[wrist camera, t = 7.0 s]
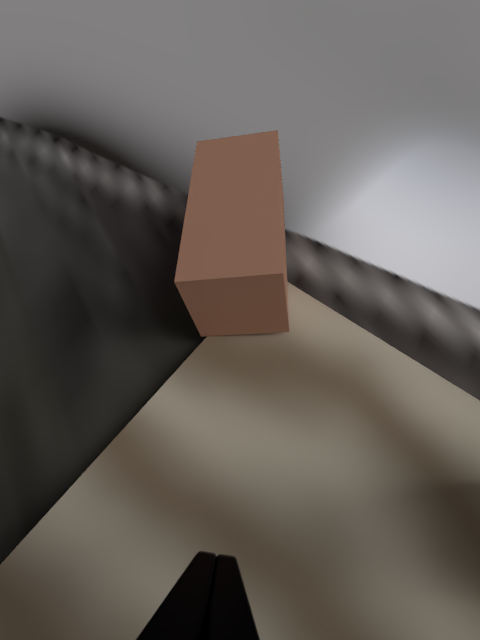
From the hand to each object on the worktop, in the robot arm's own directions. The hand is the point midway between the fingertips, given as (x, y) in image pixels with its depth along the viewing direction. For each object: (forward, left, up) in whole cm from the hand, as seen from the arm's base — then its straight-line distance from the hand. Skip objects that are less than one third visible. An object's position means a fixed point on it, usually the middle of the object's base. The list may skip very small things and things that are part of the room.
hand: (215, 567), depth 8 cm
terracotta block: (+7, +6, -5) cm, 11 cm away
